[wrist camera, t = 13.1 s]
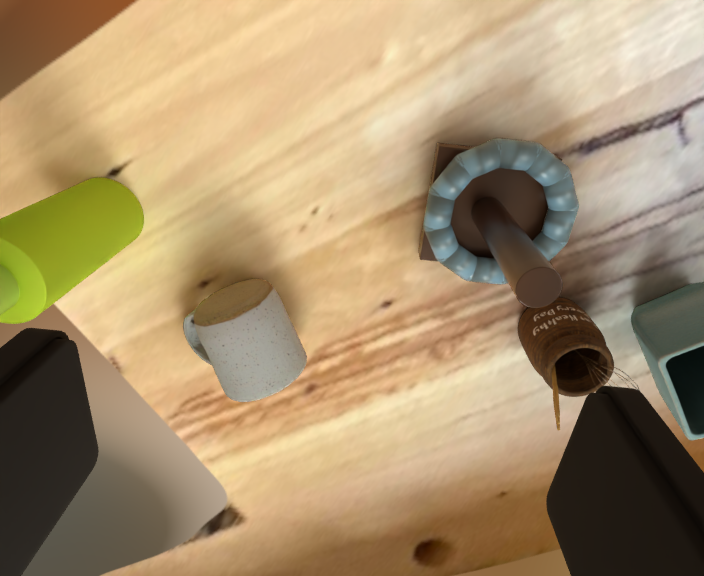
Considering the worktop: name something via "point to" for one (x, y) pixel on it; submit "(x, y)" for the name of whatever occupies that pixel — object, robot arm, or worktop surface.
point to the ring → (483, 161)
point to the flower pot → (676, 352)
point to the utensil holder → (566, 349)
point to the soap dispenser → (62, 244)
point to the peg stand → (501, 227)
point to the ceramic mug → (247, 340)
